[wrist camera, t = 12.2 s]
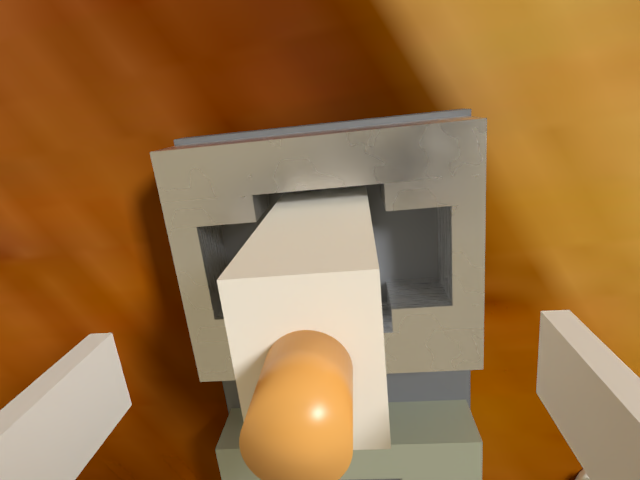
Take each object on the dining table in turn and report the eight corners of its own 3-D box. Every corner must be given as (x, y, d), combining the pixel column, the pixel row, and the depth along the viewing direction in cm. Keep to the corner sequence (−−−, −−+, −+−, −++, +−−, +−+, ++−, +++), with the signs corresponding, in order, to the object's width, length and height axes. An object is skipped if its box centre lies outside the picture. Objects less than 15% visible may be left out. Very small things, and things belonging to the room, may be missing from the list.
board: (184, 137, 24) (173, 139, 23) (463, 108, 23) (471, 108, 21) (260, 530, 33) (256, 550, 32) (464, 529, 32) (469, 549, 30)
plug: (283, 193, 23) (173, 336, 9) (365, 186, 23) (388, 324, 9) (296, 293, 25) (222, 545, 11) (373, 288, 25) (402, 544, 10)
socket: (179, 145, 23) (149, 152, 19) (465, 115, 21) (486, 118, 18) (219, 346, 26) (200, 382, 23) (465, 334, 25) (483, 369, 22)
